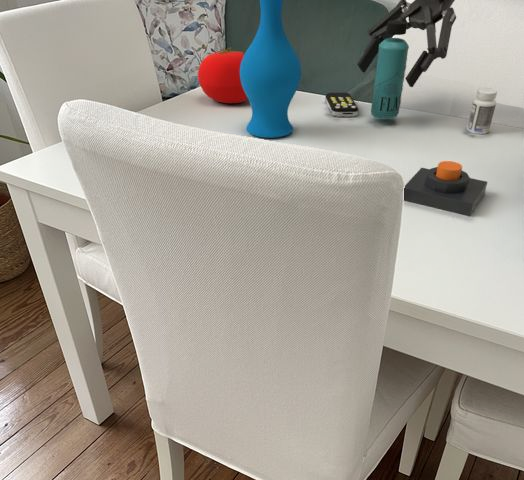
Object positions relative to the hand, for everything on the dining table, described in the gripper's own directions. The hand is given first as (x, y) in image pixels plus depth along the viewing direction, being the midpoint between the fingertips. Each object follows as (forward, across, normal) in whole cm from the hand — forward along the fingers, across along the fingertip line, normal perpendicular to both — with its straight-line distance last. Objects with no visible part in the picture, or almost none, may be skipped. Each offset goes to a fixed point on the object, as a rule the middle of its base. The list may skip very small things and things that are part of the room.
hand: (383, 75), depth 122 cm
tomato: (+19, +33, +5) cm, 39 cm away
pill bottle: (-2, -17, -17) cm, 24 cm away
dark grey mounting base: (+20, -33, +6) cm, 39 cm away
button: (+18, -33, +9) cm, 38 cm away
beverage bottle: (+6, 0, -8) cm, 10 cm away
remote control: (+7, +12, -8) cm, 16 cm away
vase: (+23, +11, +9) cm, 27 cm away
